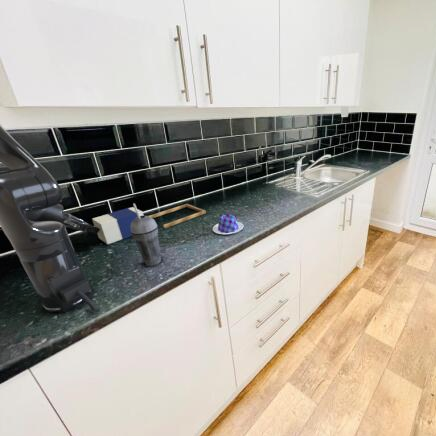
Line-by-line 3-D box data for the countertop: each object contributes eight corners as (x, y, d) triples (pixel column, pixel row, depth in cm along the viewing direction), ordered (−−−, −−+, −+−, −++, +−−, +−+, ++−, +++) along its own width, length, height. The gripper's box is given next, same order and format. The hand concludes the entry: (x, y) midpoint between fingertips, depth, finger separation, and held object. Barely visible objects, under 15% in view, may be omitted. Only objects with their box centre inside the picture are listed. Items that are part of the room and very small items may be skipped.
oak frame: (164, 228, 102) (164, 225, 102) (146, 219, 111) (146, 216, 110) (206, 213, 116) (205, 210, 116) (187, 206, 125) (187, 203, 124)
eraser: (107, 244, 91) (100, 224, 87) (98, 238, 95) (91, 218, 92) (147, 230, 101) (142, 211, 98) (137, 224, 105) (132, 206, 102)
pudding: (249, 230, 101) (248, 217, 98) (220, 239, 94) (218, 226, 92) (235, 220, 109) (234, 208, 107) (208, 227, 103) (206, 215, 101)
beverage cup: (170, 257, 83) (157, 199, 75) (155, 269, 77) (138, 208, 68) (151, 254, 85) (136, 197, 76) (134, 266, 78) (115, 206, 70)
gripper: (52, 203, 74) (111, 226, 88) (40, 194, 81) (96, 217, 95) (35, 226, 72) (98, 246, 86) (24, 215, 80) (84, 235, 94)
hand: (97, 231), depth 91 cm, fingers closed
